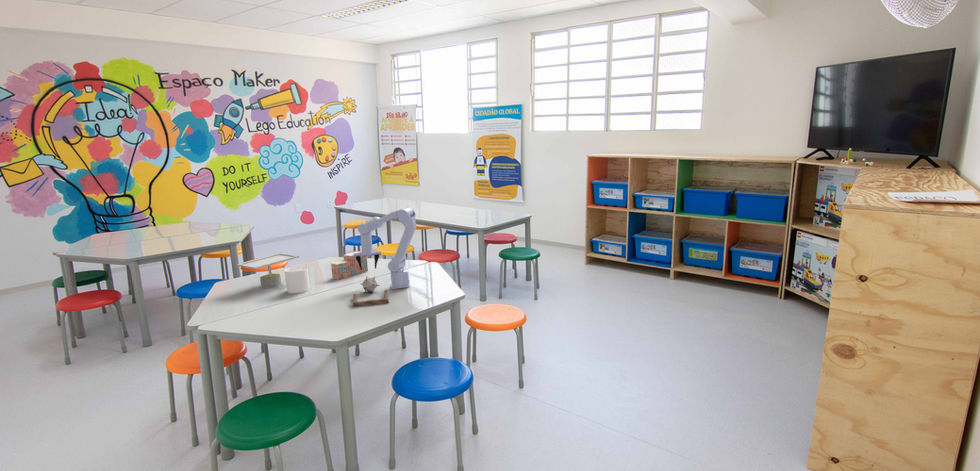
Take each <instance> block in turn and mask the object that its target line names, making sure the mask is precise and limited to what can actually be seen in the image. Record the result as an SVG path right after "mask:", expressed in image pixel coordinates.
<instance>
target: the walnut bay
mask: <svg viewBox="0 0 980 471" xmlns="http://www.w3.org/2000/svg"><path fill="white" fill-rule="evenodd" d="M388 294H389V293H388V290H387V289H385V290H383V295H384V298H376V299H368V300H360V301H358V300H357V293H353V295H352V307H353V308H357V307H365V306H373V305H381V304H382V305H383V304H389V303H390V302H389V295H388Z"/></svg>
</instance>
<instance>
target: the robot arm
mask: <svg viewBox="0 0 980 471" xmlns="http://www.w3.org/2000/svg"><path fill="white" fill-rule="evenodd" d="M416 215H417V214H416V212H415V210H414V209H413V207H410V206H406V207H403V208H399V209H396V210H393V211H391V212H389V213H387V214H385V215H384V216H382V217H379V216H373V217H372V218H371V219H370V220H368V219H367V220H366V221H365V222H364V223H360V224H359V225H358V227H357V230H358V233H359V234H360V247H361V251H362V252H359V253H353V254H354V257H356V260H357V261H358V263H359V266H360V269H361V270H362V266H361V256H367V257H373V256H374V269H375V270H376V269H377V265H378V261H379V259H380V256H382V252H381V251H382V250H377V251H375V250H373V241H372V240H373V239H372V231H375V230H377V229H379V228H382V227H383V225H384V223H387V222H389V221H391V220H398V221H399V222H400V223H401V224H402V225H403V226H404V231H403V232H402V236H401V238H400V240H399V243H398V246H397V249H396V251H395V254H394V255H393V256H392V258H391V260H390V261H389V262H388V264H387V268H388V270H389V272H390V281H391V283H390V288H391V289H392V290H395V289H397V290H398V289H404V288H405V289H406V288H409V287H410V280H409V270H408V269H404V267H405V265H406V258H407V257H406V254H407V251H408V250H409V247H410V244H411V242H412V238H413V236H414V235H415V231H416V229H417V221H416Z"/></svg>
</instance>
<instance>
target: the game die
mask: <svg viewBox="0 0 980 471" xmlns="http://www.w3.org/2000/svg"><path fill="white" fill-rule="evenodd" d="M361 286H362V287H363V289H364V293H366V292H372V294H373V293H374V291H375V289H377V287H380V284H378V283H377V280H376V278H375V276H373V277H368V276H366V278H365V279H364V280H363V282H362V283H361Z"/></svg>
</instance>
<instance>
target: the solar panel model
mask: <svg viewBox="0 0 980 471" xmlns="http://www.w3.org/2000/svg"><path fill="white" fill-rule="evenodd" d="M298 258H300V256H299V255H296V254H291V253H290V254H289V253H283V252H278V253H274V254H270V255H267V256H264V257H260V258H256V259H251V260H248V261H244V262H241V263H236V267H240V268H245V269H252V270H258V269H263V268H266V267H267V270H268V274H265V275H262V276H260V277H259V279H260V286H261V287H260V288H262V289H272V288H276V287H279V286H281V285H282V281H281V274H280V273H272V268H271V267H272V266H273V265H276V264H279V263H283V262H287V261H291V260H295V259H298Z"/></svg>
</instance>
